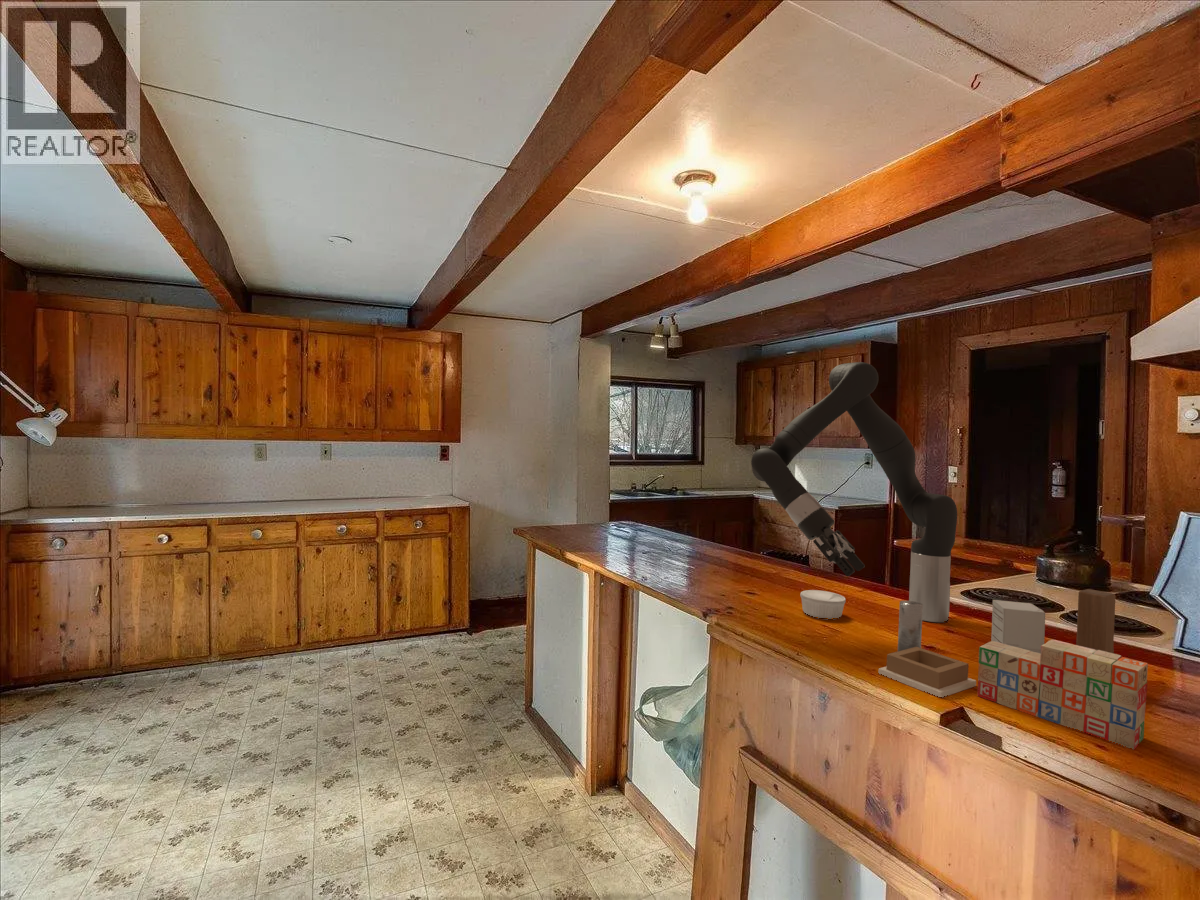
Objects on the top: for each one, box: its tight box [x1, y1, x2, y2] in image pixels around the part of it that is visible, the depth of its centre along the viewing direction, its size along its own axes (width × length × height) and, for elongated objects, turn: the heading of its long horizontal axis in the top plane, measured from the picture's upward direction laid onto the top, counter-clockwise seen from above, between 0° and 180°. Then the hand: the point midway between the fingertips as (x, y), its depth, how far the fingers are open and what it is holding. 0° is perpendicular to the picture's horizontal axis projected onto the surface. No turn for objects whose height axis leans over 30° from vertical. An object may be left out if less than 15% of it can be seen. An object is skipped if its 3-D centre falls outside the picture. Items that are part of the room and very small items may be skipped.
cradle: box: [878, 647, 977, 698], centre depth 110 cm, size 12×12×4 cm
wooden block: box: [1075, 588, 1117, 654], centre depth 112 cm, size 9×4×18 cm, turn 121°
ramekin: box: [799, 589, 846, 620], centre depth 152 cm, size 11×11×5 cm
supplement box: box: [990, 599, 1046, 654], centre depth 119 cm, size 7×7×13 cm
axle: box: [897, 600, 923, 652], centre depth 124 cm, size 4×4×11 cm
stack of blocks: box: [976, 639, 1149, 750], centre depth 96 cm, size 21×6×12 cm, turn 36°
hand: (856, 571), depth 131 cm, fingers open, 8 cm apart
